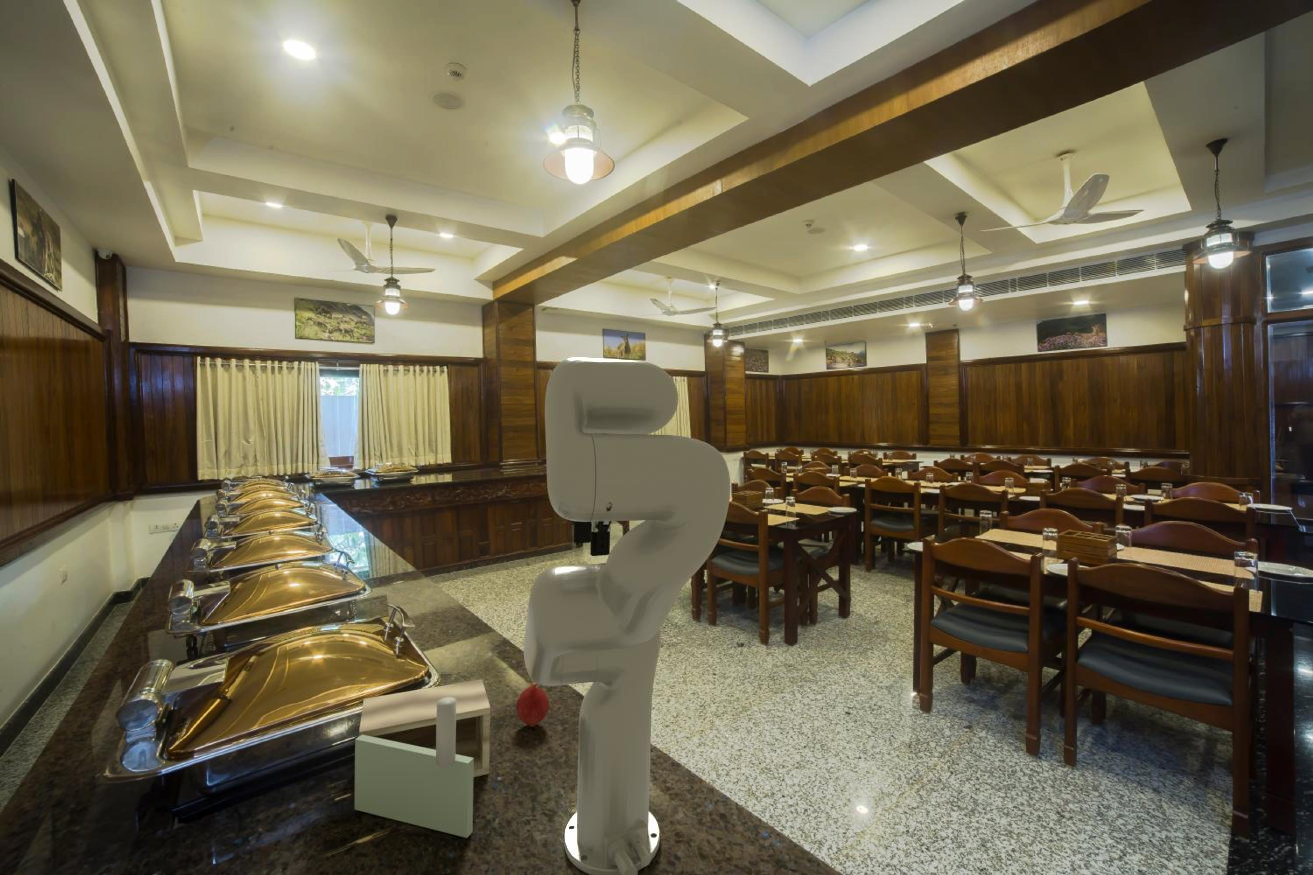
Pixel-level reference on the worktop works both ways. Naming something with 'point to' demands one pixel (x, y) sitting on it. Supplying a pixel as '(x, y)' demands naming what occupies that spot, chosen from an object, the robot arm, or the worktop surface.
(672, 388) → the robot arm
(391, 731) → the cupboard
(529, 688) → the onion
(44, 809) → the worktop surface
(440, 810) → the cupboard door
